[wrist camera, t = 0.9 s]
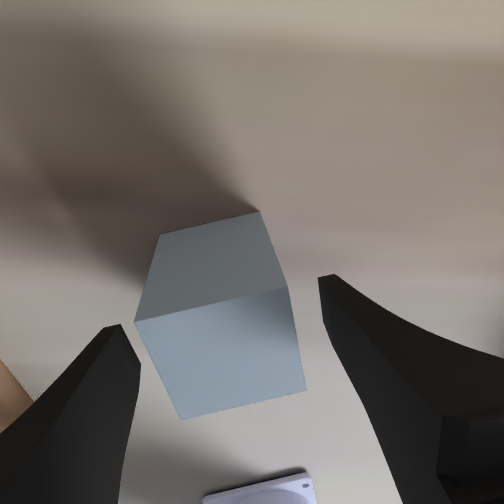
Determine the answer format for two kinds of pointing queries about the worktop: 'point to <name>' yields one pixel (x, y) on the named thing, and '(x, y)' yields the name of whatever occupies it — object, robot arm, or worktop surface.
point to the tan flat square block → (11, 398)
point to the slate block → (219, 318)
